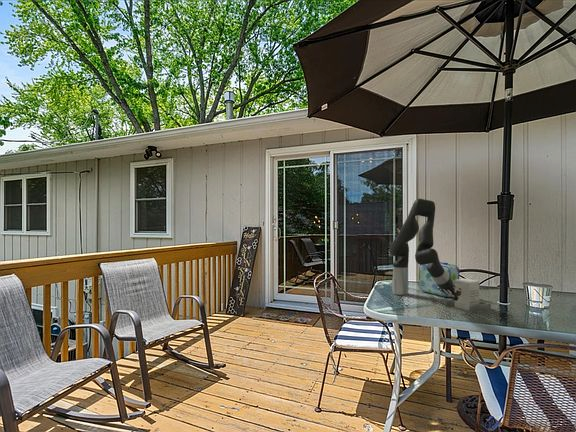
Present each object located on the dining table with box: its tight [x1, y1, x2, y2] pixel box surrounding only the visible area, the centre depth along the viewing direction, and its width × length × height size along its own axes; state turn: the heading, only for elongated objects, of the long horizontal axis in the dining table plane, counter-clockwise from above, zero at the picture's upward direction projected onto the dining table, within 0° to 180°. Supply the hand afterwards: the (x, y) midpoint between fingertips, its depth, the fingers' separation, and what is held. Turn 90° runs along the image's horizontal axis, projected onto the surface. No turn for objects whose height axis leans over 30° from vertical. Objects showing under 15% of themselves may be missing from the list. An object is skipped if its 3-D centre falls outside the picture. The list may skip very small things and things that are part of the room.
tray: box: [444, 298, 492, 314], centre depth 188 cm, size 16×16×3 cm
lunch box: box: [418, 261, 461, 298], centre depth 220 cm, size 26×11×21 cm, turn 25°
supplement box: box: [454, 278, 480, 312], centre depth 187 cm, size 9×9×15 cm
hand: (456, 299), depth 182 cm, fingers closed
